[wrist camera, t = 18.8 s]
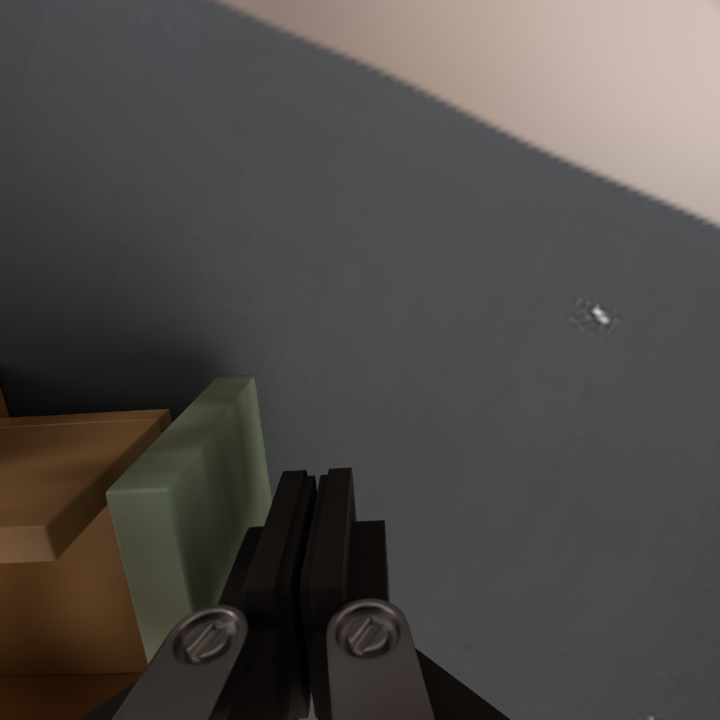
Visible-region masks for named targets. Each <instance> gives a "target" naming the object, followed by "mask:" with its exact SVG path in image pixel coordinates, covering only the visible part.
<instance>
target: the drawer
mask: <svg viewBox="0 0 720 720" xmlns="http://www.w3.org/2000/svg"><path fill="white" fill-rule="evenodd" d="M271 505H272V499H271V492H270V485H269V478H268V470H267V463H266V456H265V449H264V441H263V434H262V427H261V419H260V412H259V405H258V398H257V390H256V383H255V377H254V376H253V375H244V376H227V377H217V378H215V379H214V380H213V381H212V382H211V384H210V385H209V386H208V387H207V388H206V389H205V390H204V391H203V392H202V393H201V394H200V395H199V396H198V397H197V398H196V399H195V400H194V401H193V402H192V403H191V404H190V405H189V406H188V407H187V408H186V409H185V410H184V411H183V412H182V414H181V415H180V416H179V417H178V418H177V419H176V420H175V421H174V422H173V423H172V419H171V414H170V410H169V409H157V410H139V411H121V412H103V413H85V414H68V415H50V416H32V417H14V418H0V720H78V719H80V718H81V717H83V716H84V715H86V714H87V713H89V712H90V711H92V710H93V709H95V708H96V707H98V706H99V705H101V704H102V703H104V702H105V701H107V700H108V699H110V698H111V697H113V696H114V695H116V694H117V693H119V692H120V691H122V690H123V689H125V688H127V687H128V686H130V685H131V684H133V683H134V682H136V681H137V680H138V679H139V678H140V676H141V675H142V673H143V672H144V670H145V669H146V667H147V665H148V664H149V662H150V661H151V659H152V658H153V656H154V655H155V653H156V652H157V650H158V649H159V647H160V646H161V644H162V643H163V641H164V640H165V638H166V637H167V635H168V634H169V632H170V631H171V630H172V629H173V628H174V626H175V625H176V624H177V623H178V622H179V621H181V620H182V619H183V618H184V617H186V616H187V615H188V614H190V613H192V612H194V611H196V610H198V609H201V608H204V607H208V606H212V605H217V604H218V601H219V599H220V596H221V594H222V591H223V589H224V586H225V584H226V581H227V579H228V576H229V574H230V571H231V569H232V566H233V564H234V561H235V559H236V556H237V554H238V551H239V549H240V546H241V544H242V541H243V539H244V536H245V534H246V531H247V530H248V528H250V527H258V526H264V525H265V522H266V519H267V516H268V513H269V510H270V507H271Z"/></svg>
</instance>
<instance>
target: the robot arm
mask: <svg viewBox="0 0 720 720" xmlns="http://www.w3.org/2000/svg"><path fill="white" fill-rule="evenodd" d="M311 693H312V697H313V704H314V712H315V717H316V718H318V720H510V719H509V718H508V717H506V716H505V715H504V714H502V713H501V712H500V711H498V710H497V709H496V708H494V707H493V706H492V705H490V704H489V703H488V702H486V701H485V700H484V699H482V698H481V697H480V696H478V695H477V694H476V693H474V692H473V691H472V690H470V689H469V688H468V687H466V686H465V685H464V684H462V683H461V682H460V681H458V680H457V679H456V678H454V677H453V676H452V675H450V674H449V673H448V672H446V671H445V670H444V669H442V668H441V667H440V666H438V665H437V664H436V663H434V662H433V661H432V660H430V659H429V658H428V657H426V656H425V655H424V654H422V653H421V652H420V651H418V650H417V649H416V648H415V646H414V643H413V639H412V635H411V632H410V628H409V625H408V622H407V620H406V618H405V616H404V614H403V613H402V612H401V611H400V610H399V609H398V608H397V607H396V606H395V605H393V604H391V603H390V602H389V581H388V563H387V547H386V532H385V520H380V521H360V522H357V521H356V510H355V498H354V487H353V475H352V468H335V469H329V472H328V475H321V476H320V481H319V486H318V491H317V487H316V479H315V476H308V475H307V471H306V470H298V471H283V473H282V476H281V479H280V482H279V484H278V487H277V490H276V493H275V496H274V499H273V502H272V505H271V507H270V510H269V513H268V516H267V519H266V522H265V525H264V526H258V527H250V528H248V530H247V531H246V534H245V536H244V539H243V541H242V544H241V546H240V549H239V551H238V554H237V556H236V559H235V561H234V564H233V566H232V569H231V571H230V574H229V576H228V579H227V581H226V584H225V586H224V589H223V591H222V594H221V596H220V599H219V601H218V604H217V605H212V606H208V607H204V608H201V609H198V610H196V611H194V612H192V613H190V614H188V615H187V616H186V617H184V618H183V619H182V620H181V621H179V622H178V623H177V624H176V625H175V626H174V628H173V629H172V630H171V631H170V632H169V634H168V635H167V637H166V638H165V640H164V641H163V643H162V644H161V646H160V647H159V649H158V650H157V652H156V653H155V655H154V656H153V658H152V659H151V661H150V662H149V664H148V665H147V667H146V669H145V670H144V672H143V673H142V675H141V676H140V678H139V679H138V680H137V681H136V682H134V683H133V684H131V685H130V686H128V687H127V688H125V689H123V690H122V691H120V692H119V693H117V694H116V695H114V696H113V697H111V698H110V699H108V700H107V701H105V702H104V703H102V704H101V705H99V706H98V707H96V708H95V709H93V710H92V711H90V712H89V713H87V714H86V715H84V716H83V717H81V718H80V719H78V720H299V719H302V718H308V715H309V709H310V701H311Z"/></svg>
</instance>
